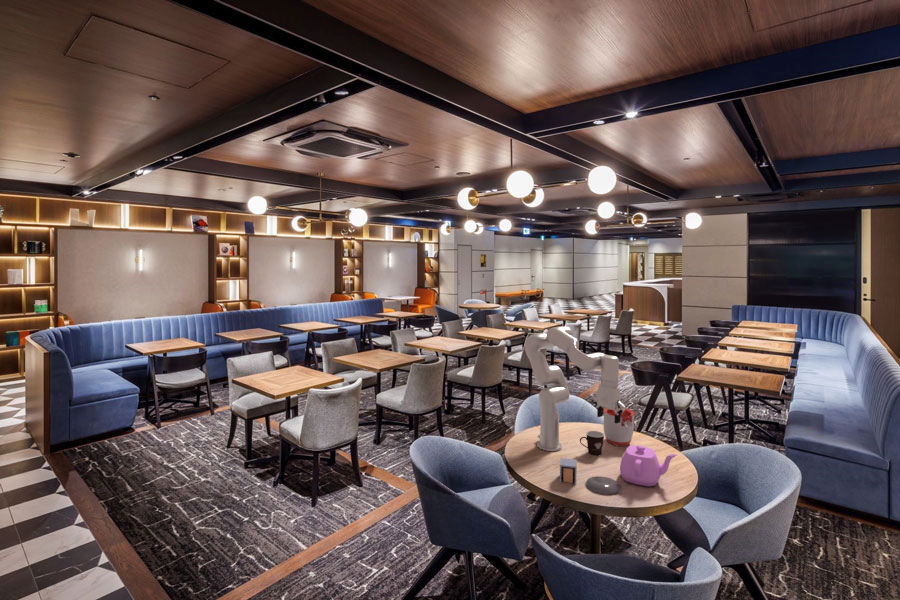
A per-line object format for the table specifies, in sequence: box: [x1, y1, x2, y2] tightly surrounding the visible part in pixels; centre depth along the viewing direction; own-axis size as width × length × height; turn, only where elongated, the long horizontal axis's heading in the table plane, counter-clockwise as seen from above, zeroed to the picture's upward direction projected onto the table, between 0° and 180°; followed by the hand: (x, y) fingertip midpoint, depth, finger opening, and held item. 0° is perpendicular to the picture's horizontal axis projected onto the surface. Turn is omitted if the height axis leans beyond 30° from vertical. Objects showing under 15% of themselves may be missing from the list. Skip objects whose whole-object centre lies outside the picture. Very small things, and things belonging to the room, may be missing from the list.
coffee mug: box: [579, 430, 605, 457], centre depth 227 cm, size 12×9×10 cm
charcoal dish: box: [585, 475, 622, 496], centre depth 193 cm, size 14×14×1 cm
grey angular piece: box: [559, 457, 578, 485], centre depth 199 cm, size 7×7×8 cm
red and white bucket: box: [603, 407, 635, 447], centre depth 239 cm, size 16×17×20 cm
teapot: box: [619, 444, 678, 487], centre depth 196 cm, size 23×21×15 cm
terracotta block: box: [562, 467, 574, 483], centre depth 199 cm, size 4×4×6 cm
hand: (608, 419), depth 205 cm, fingers open, 9 cm apart
